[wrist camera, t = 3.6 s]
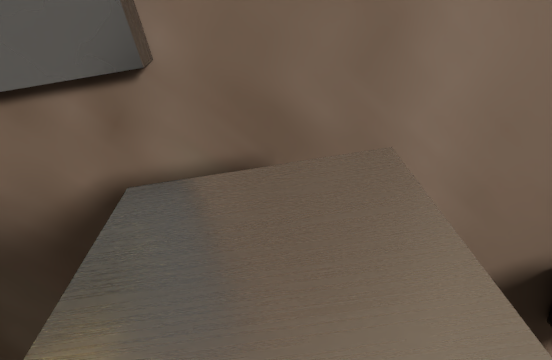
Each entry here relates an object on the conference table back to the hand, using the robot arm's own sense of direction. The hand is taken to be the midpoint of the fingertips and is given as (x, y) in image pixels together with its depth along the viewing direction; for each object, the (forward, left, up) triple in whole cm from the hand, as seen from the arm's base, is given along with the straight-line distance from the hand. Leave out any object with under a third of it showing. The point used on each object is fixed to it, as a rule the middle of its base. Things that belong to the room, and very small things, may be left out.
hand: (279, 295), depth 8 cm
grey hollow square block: (0, 0, -1) cm, 1 cm away
